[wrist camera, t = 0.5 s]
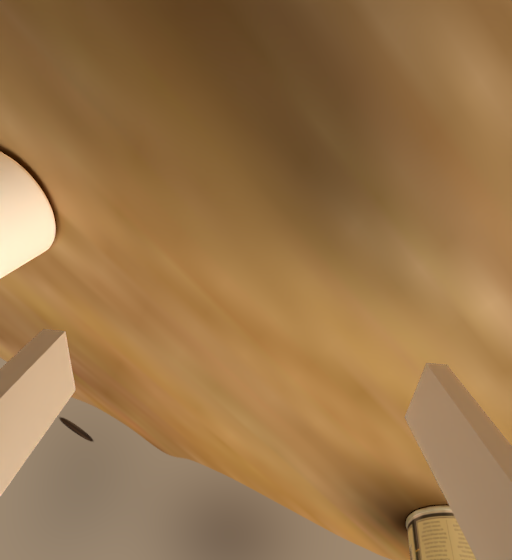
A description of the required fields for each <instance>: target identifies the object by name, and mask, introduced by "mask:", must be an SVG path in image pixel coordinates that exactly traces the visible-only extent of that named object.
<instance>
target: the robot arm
mask: <svg viewBox="0 0 512 560" xmlns="http://www.w3.org/2000/svg"><path fill="white" fill-rule="evenodd" d="M74 392H75V384H74V378H73V373H72V367H71V361H70V355H69V350H68V344H67V338H66V332H65V331H57V330H46V329H43V330H42V331H41V332H40V333H39V334H38V335H37V336H36V337H34V338H33V339H32V340H31V341H30V342H29V343H28V344H27V345H26V346H25V347H24V348H23V349H21V350H20V351H19V352H18V353H17V354H16V355H15V356H14V357H13V358H12V359H11V360H9V361H8V362H7V363H6V364H5V365H4V366H3V367H2V368H1V369H0V496H1V495H2V493H3V492H4V491H5V489H6V488H7V486H8V485H9V484H10V482H11V481H12V479H13V478H14V477H15V475H16V474H17V472H18V471H19V469H20V468H21V467H22V465H23V464H24V462H25V461H26V460H27V458H28V457H29V455H30V454H31V453H32V451H33V450H34V448H35V447H36V445H37V444H38V443H39V441H40V440H41V438H42V437H43V436H44V434H45V433H46V431H47V430H48V428H49V427H50V426H51V424H52V423H53V421H54V420H55V419H56V417H57V416H58V414H59V413H60V412H61V410H62V409H63V407H64V406H65V404H66V403H67V402H68V400H69V399H70V397H71V396H72V395H73V393H74ZM405 419H406V421H407V423H408V425H409V427H410V429H411V431H412V433H413V435H414V437H415V439H416V441H417V443H418V445H419V447H420V449H421V451H422V453H423V455H424V457H425V459H426V461H427V463H428V465H429V467H430V469H431V471H432V473H433V475H434V477H435V479H436V481H437V483H438V485H439V487H440V489H441V491H442V493H443V494H444V496H445V498H446V500H447V502H448V504H449V506H450V508H451V510H452V512H453V514H454V516H455V518H456V520H457V522H458V524H459V526H460V528H461V530H462V532H463V534H464V536H465V538H466V540H467V542H468V544H469V546H470V548H471V550H472V552H473V554H474V556H475V558H476V560H512V446H511V445H510V444H509V443H508V441H507V440H506V439H505V438H504V436H503V435H502V434H501V433H500V431H499V430H498V429H497V427H496V426H495V425H494V424H493V422H492V421H491V420H490V419H489V417H488V416H487V415H486V414H485V412H484V411H483V410H482V409H481V407H480V406H479V405H478V404H477V402H476V401H475V400H474V399H473V397H472V396H471V395H470V394H469V392H468V391H467V390H466V389H465V387H464V386H463V385H462V383H461V382H460V381H459V380H458V378H457V377H456V376H455V375H454V373H453V372H452V371H451V370H450V368H449V367H448V366H447V365H443V364H432V363H426V365H425V368H424V370H423V373H422V375H421V378H420V380H419V383H418V385H417V388H416V390H415V393H414V395H413V398H412V400H411V403H410V405H409V408H408V410H407V413H406V415H405Z"/></svg>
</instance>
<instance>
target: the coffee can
mask: <svg viewBox="0 0 512 560" xmlns="http://www.w3.org/2000/svg"><path fill="white" fill-rule="evenodd" d="M406 528H407V534H408V541H409V550H410V559H411V560H476V558H475V556H474V554H473V552H472V550H471V548H470V546H469V544H468V542H467V540H466V538H465V536H464V534H463V532H462V530H461V528H460V526H459V524H458V522H457V520H456V518H455V516H454V514H453V512H452V510H451V508H450V506H449V505H440V506H430V507H426V508H422V509H419V510H416V511H414V512H413V513H411V514H410V515H409V516H408V517H407V519H406Z"/></svg>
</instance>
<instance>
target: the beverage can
mask: <svg viewBox="0 0 512 560" xmlns="http://www.w3.org/2000/svg"><path fill="white" fill-rule="evenodd" d="M55 233H56V224H55V218H54V214H53V211H52V208H51V206H50V203H49V201H48V199H47V197H46V195H45V194H44V192H43V191H42V189H41V188H40V186H39V185H38V183H37V182H36V181H35V180H34V178H33V177H32V176H31V175H30V174H29V173H28V172H27V171H26V170H25V169H24V168H23V167H22V166H21V165H20V164H18V163H17V162H16V161H15V160H13V159H12V158H10V157H9V156H7V155H6V154H4V153H2V152H0V279H1V278H2V277H4V276H5V275H7V274H9V273H10V272H12V271H14V270H15V269H17V268H19V267H20V266H22V265H24V264H25V263H27V262H28V261H30V260H32V259H33V258H35V257H37V256H38V255H40V254H42V253H43V252H45V251H46V250H48V249H49V248H50V246H51V245H52V243H53V241H54V238H55Z"/></svg>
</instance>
